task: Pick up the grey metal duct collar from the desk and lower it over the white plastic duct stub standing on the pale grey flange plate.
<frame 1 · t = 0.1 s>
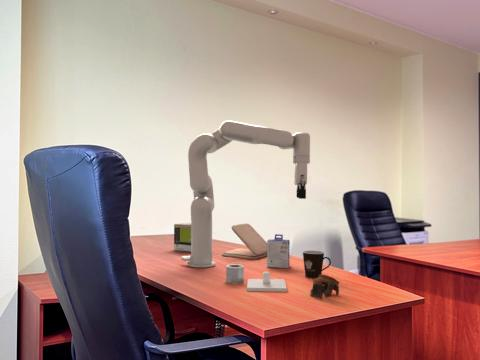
hand: (301, 198, 202), 31 cm above the table, tool pointing down, fingers open, 9 cm apart
brown animal figurine: (325, 297, 152), on the table
flange plate: (266, 286, 165), on the table
tea box: (189, 250, 247), on the table
ink cartridge box: (278, 267, 203), on the table
collar: (234, 281, 172), on the table
case: (247, 255, 233), on the table
coffee mug: (315, 278, 181), on the table
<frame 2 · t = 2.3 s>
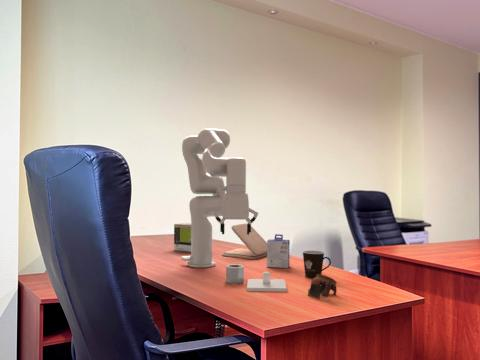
hand: (235, 234, 172), 18 cm above the table, tool pointing down, fingers open, 9 cm apart
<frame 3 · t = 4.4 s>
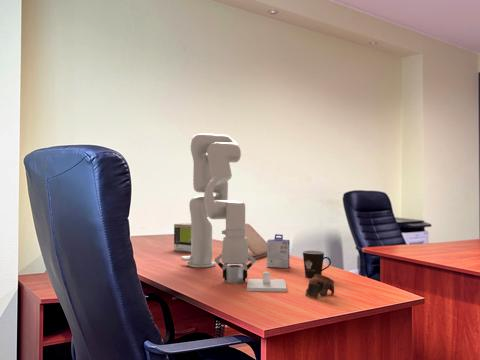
hand: (234, 279, 172), 1 cm above the table, tool pointing down, fingers closed on collar, 6 cm apart
collar: (234, 281, 172), on the table, touching gripper
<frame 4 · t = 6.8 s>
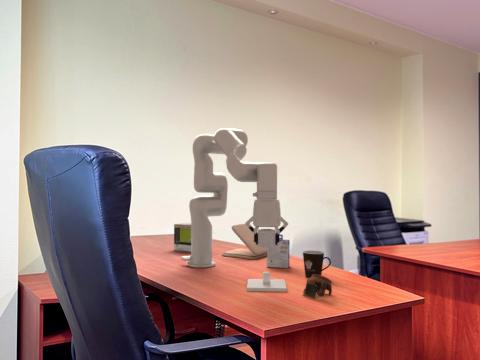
hand: (266, 244, 165), 16 cm above the table, tool pointing down, fingers closed on collar, 6 cm apart
collar: (266, 245, 165), point 15 cm above the table, touching gripper
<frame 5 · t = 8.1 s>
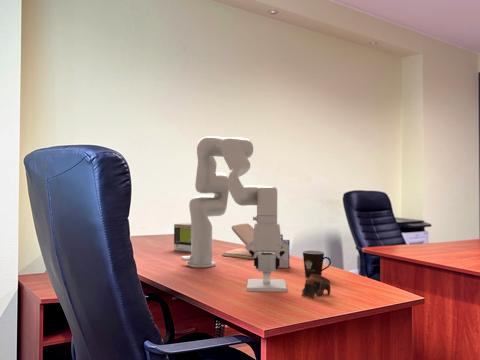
hand: (266, 268, 165), 7 cm above the table, tool pointing down, fingers closed on collar, 6 cm apart
collar: (266, 270, 165), point 6 cm above the table, touching gripper
when the fingers open (3 cm above the table, at t = 9.3 s): collar drops 1 cm, resting on flange plate.
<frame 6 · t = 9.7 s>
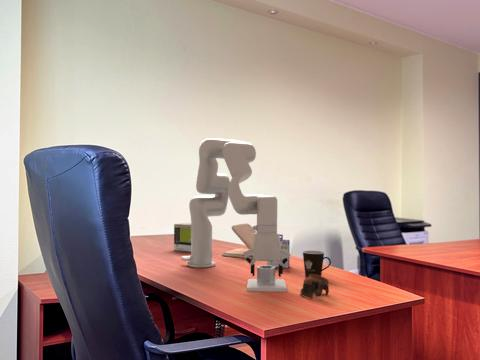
hand: (266, 275, 165), 4 cm above the table, tool pointing down, fingers open, 9 cm apart
collar: (266, 283, 165), point 1 cm above the table, touching flange plate
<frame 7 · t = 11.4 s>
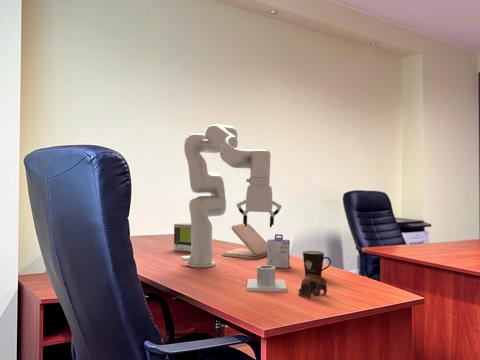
hand: (258, 226, 172), 21 cm above the table, tool pointing down, fingers open, 9 cm apart
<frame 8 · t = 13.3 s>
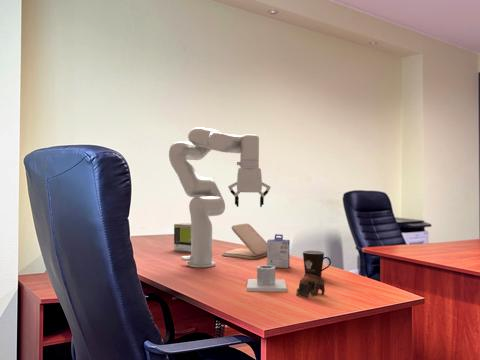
hand: (249, 206, 183), 28 cm above the table, tool pointing down, fingers open, 9 cm apart
at the end: collar 0.1 cm off-centre on the flange plate, point 1.2 cm above the flange plate's base; collar tilted 0°; the gripper is holding nothing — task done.
